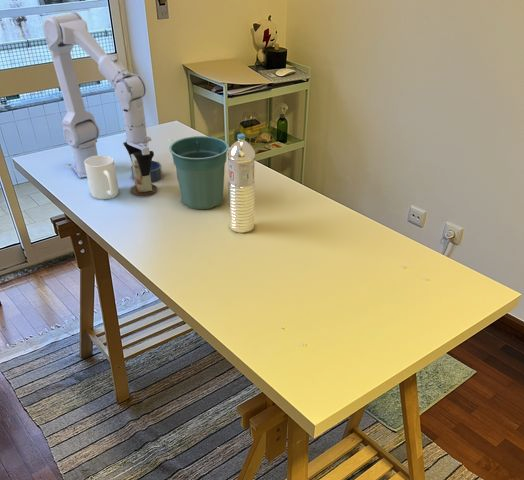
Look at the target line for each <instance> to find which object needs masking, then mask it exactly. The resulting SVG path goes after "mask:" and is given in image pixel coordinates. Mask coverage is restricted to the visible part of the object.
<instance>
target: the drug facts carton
mask: <svg viewBox="0 0 524 480" xmlns="http://www.w3.org/2000/svg"><path fill="white" fill-rule="evenodd" d="M131 160H132V161H131ZM130 161H131V166H133V173H134V179H133V180H134V186H136V189H137V191H138V192H139V193H140V192H147V191H152V184H153V183H152V182H151V177H150V174H149V175H148V176H142V175H141V172H140V168H139V165H138V162H137V160H136V158H135V156H134V155H133V154H131V158H130Z"/></svg>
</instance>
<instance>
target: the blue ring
mask: <svg viewBox="0 0 524 480" xmlns="http://www.w3.org/2000/svg"><path fill="white" fill-rule="evenodd" d="M130 170H131V177H132V179H133V180H134V173H133V166H132V165H131V167H130ZM150 177H151V183H154V182H158V181H160V180H161V179H162V178H163V167H162V164H161V163H160V162H159V161H156V160H152V161H151V165H150Z"/></svg>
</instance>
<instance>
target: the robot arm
mask: <svg viewBox="0 0 524 480" xmlns="http://www.w3.org/2000/svg"><path fill="white" fill-rule="evenodd" d="M41 27H42V30H43V34H44V38H45V41H46V42H45V43H46V45H47V48H48V50H49V53H50V56H51V59H52V63H53V66H54V67H53V68H54V70H55V73H56V77H57V81H58V84H59V88H60V92H61V95H62V98H63V102H64V105H65V109H66V114H65V115H64V117H63V119H62V120H61V124H62V132H63V133H62V134H63V138H64V141H65V142H66V143H67V144H68V145H69V146H70V147H71V151H72V155H73V160H74V163H75V165H73V166H72V169H73V170H74V171H75V174H77V176H78V178H79V179H83V178H87V173H86V168H85V163H84V161H85V160H86V159H87V158H89V157H93V156H99V154H98V149H97V143H98V138H99V137H100V128H99V126H98V123H97V122H96V120H95V117H94V114H92V113H91V112H89V111H88V110H86V106H85V104H84V100H83V96H82V92H81V88H80V84H79V79H78V76H77V73H76V69H75V65H74V61H73V58H72V53H71V52H72V50H73V49H74V46H78V47H79V48H80V49H82V51H83V52H85V53H86V54H87V55H88V56H89V57H90V58H91V59H92V60H93V61H94V62H95V63H96V64H97V67H98V71H99V73H100V74H101V75H102V76H103V77H104V78H105V79H106V81H108V83H109V84H110V85H111V86H112V87H113V88H114V93H115V96H116V98H117V99H118V101H119V106H120V108H121V109H122V116H123V122H124V130H125V136H126V139H125V141H124V142H123V143H122V145H123V146H124V147H125V149H126V151H127V153H128V156H129V158H130V161H131V162H132V160H131V154H133V155H134V156H135V158H136V160H137V162H138V165H139V168H140V172H141V175H142V176H148V175H149V174H150V165H151V161H153V157H154V156H155V152H154V151H153V150H150V147H149V142H152V138H151V137H150V136H148V135H147V128H146V127H147V126H146V118H145V110H144V102H143V98H144V97H145V95H146V91H147V88H146V84H145V81H144V80H143V79H142V77H141V76H140V74H137V73H136V74H135V73H133V72H129V70H128V69H127V68H126V67H125V66H124V64H122V63H121V62H120V60H119V59H118V57H116V55H114V54H107V53H106V52H105V50H104V49H103V48H102V46H101V45H100V44H99V43H98V42H97V40H96V39H95V37H94V36H93V35H92V34H91V33H90V32H89V28H88V24H87V21H86V20H85V19H83V17H82V16H81V15H80V14H79V13H78V12H76V11H75V12H70V13H65V14H60V15H54V16H47V17H45V18H44V21H43V23H42V26H41Z"/></svg>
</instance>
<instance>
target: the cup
mask: <svg viewBox="0 0 524 480" xmlns="http://www.w3.org/2000/svg"><path fill="white" fill-rule="evenodd" d="M84 163H85V168H86V173H87V177H86V178H87V183H88V188H89V192H90V195H91V196H92V198H93V199H96V200H111V199H113V198H115V197H117V196H118V195H119V190H120V189H119V184H118V177H117V172H116V166H115V159H114V158H113V157H112V156H109V155H103V154H102V155H101V154H98V156H93V157H89V158H87V159H86V160H85V161H84Z"/></svg>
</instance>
